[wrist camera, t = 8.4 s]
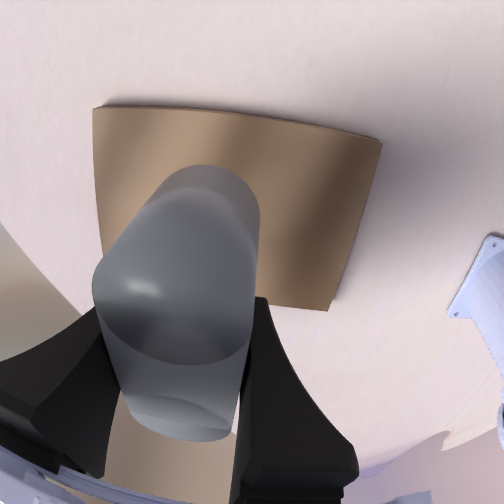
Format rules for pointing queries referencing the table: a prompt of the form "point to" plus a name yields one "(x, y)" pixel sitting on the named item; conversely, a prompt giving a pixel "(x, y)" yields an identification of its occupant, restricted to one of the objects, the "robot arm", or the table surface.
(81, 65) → the table surface
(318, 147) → the walnut board
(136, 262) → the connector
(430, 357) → the table surface
